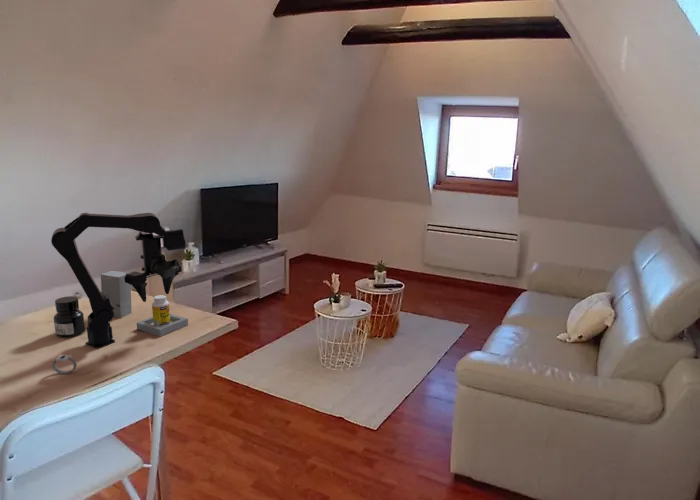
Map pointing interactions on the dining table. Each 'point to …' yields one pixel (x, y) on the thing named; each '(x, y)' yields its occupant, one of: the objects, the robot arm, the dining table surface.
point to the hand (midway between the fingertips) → (156, 297)
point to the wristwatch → (64, 358)
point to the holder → (175, 324)
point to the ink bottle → (68, 317)
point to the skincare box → (117, 292)
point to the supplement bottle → (160, 311)
